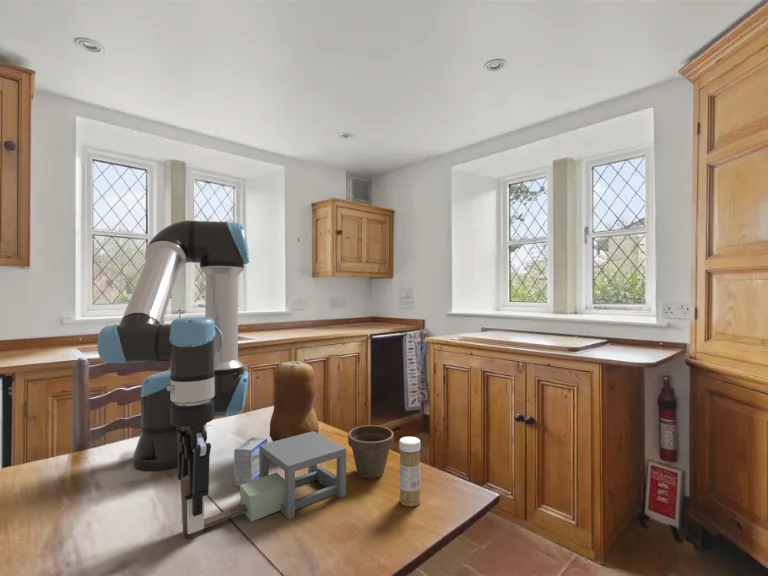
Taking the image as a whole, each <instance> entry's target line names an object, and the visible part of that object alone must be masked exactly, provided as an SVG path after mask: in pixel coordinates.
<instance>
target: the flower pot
mask: <svg viewBox="0 0 768 576" xmlns="http://www.w3.org/2000/svg"><path fill="white" fill-rule="evenodd" d="M394 436H395V434H394V432H393V430H391V428H389V427H386V426H381V425H373V424H371V425H368V424H367V425H360V426H357V427H354V428H352V429H350V430H349V432H348V434H347V441H348V442H347V443H348V446H349V447H350V448H351V449H352V455H353V458H354V459H353V461H354V464H355V469H356V471H357V474H358V476H360V477H362V478H365V479H377V478H379V477H381V476H382V475H383V474H384V471H385V468H386V465H387V460H388V456H389V454H390V453H389V451H390V448H391V447H392V446H393V445H394V440H395V439H394Z"/></svg>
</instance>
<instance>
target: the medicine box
mask: <svg viewBox="0 0 768 576" xmlns="http://www.w3.org/2000/svg"><path fill="white" fill-rule="evenodd" d="M266 443H268V439H267V438H265V437H251V438H249V439H248V440H246V441H245V442H244V443H242V444H241V445H239V446H238V447H236V448H235V449H234V450H233V456H234V458H233V459H234V460H233V461H234V463H233V464H234V470H233V471H234V486H237V487H240V485H241V484H244V483H247V482H250V481H253V480H256V479H259V445H262V444H266Z"/></svg>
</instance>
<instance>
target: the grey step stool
mask: <svg viewBox="0 0 768 576" xmlns="http://www.w3.org/2000/svg"><path fill="white" fill-rule="evenodd" d="M331 460H336V474H334V473H333V472H332V471H330V470H328V469H326V468H325V467H324V466H322V465H319V464H324V463H326V462H329V461H331ZM269 461H271V462H272V463H274V464H275V465H276V466H277V467H279V468H280V469H281V470H283V471H284V479H285V503H283V504H281V510H280V513H281V514H282V515H284V516H285V518H287V520H288V519H291V518H295V517H296V510H298V509H301V508H303V507H306V506H308V505H311V504H313V503H316V502H318V501H320V500H321V501H322V500H324V499H326V498H329V497H331V496H333V495H336V496H337V497H338V498H340V499H342V498H344V497H346V496H347V448H346V447H345V446H343V445H341V444H339V443H337V442H336V441H333V440H332V439H330V438H328V437H325V436H323V435H322V434H321V433H319V432H318V433H317V432H315V431H312V432H308V433H304V434H300V435H297V436H293V437H289V438H285V439H281V440H277V441H270V442H267V443H266V444H262V445H259V478H262V477H265V476H267V475H270V473H269V468H270V467H269V465H270V463H269ZM317 465H319V466H317ZM306 468H307V469H308V471H307V472H308V473H306V474H302V475H300V476H297V477H296V472H297V471H301V470H304V469H306ZM315 481H317V482H319V483H320V484H322V485H323V486H325V487H324V488H322V489H319V490H316V491H314V492H311V493H308V494H306V495H305V494H304V495H302V496H299V497H297V498H296V488H297V487H299V486H302V485H305V484H308V483H311V482H315Z"/></svg>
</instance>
